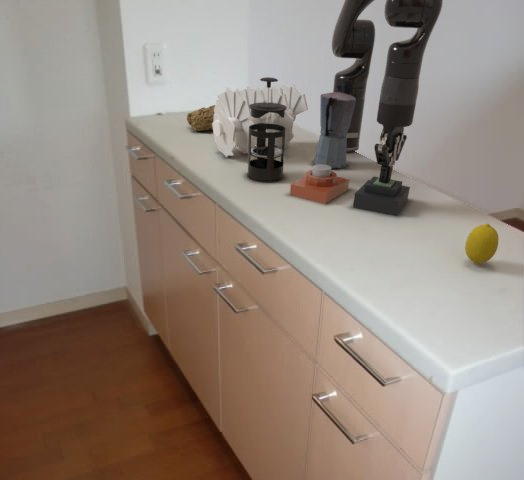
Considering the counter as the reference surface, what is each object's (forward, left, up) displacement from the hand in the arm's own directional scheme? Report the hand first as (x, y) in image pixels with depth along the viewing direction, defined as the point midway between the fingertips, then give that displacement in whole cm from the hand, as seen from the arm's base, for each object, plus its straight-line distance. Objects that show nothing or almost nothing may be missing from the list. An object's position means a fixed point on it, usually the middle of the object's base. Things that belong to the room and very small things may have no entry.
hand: (384, 182), depth 125 cm
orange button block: (+2, -15, -5) cm, 16 cm away
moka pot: (-19, -23, -5) cm, 30 cm away
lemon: (+18, +27, -6) cm, 33 cm away
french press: (0, -32, -5) cm, 33 cm away
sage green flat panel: (0, 0, -2) cm, 2 cm away
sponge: (-32, -71, -6) cm, 78 cm away
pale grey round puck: (+2, -15, -1) cm, 15 cm away
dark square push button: (0, 0, -5) cm, 5 cm away
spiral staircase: (-16, -46, -5) cm, 49 cm away
